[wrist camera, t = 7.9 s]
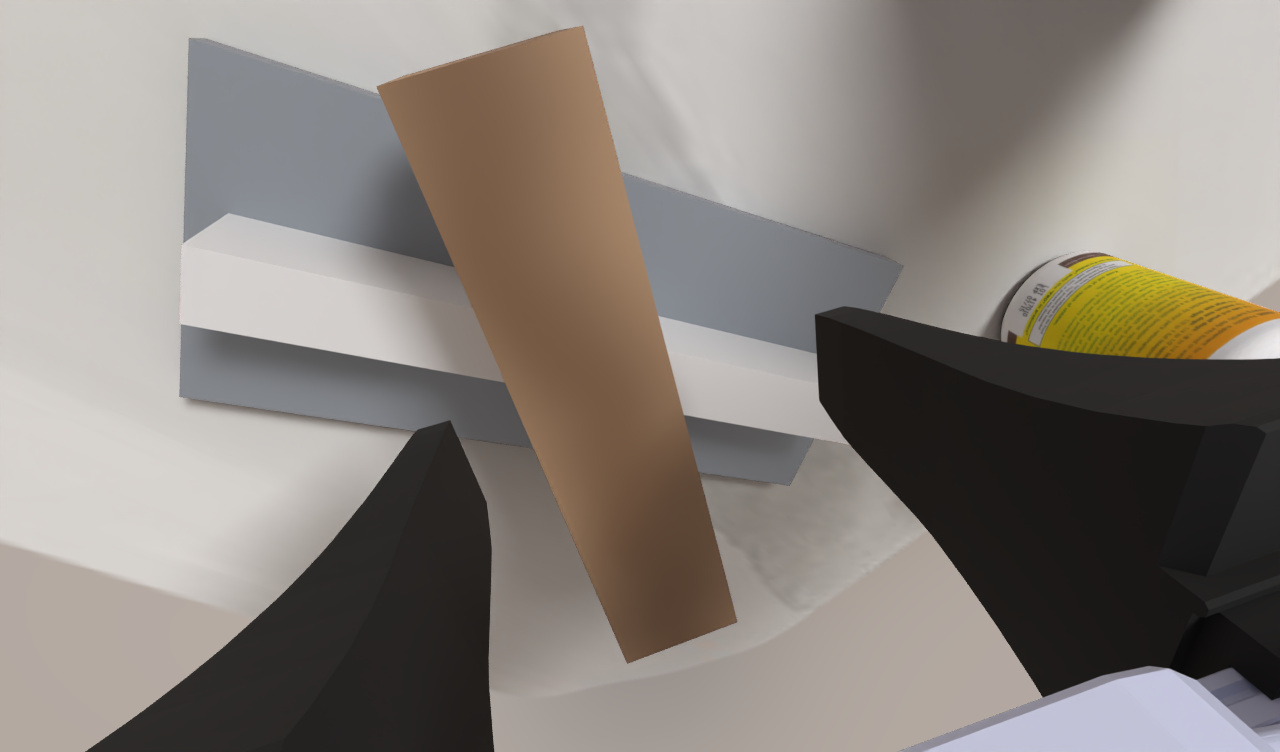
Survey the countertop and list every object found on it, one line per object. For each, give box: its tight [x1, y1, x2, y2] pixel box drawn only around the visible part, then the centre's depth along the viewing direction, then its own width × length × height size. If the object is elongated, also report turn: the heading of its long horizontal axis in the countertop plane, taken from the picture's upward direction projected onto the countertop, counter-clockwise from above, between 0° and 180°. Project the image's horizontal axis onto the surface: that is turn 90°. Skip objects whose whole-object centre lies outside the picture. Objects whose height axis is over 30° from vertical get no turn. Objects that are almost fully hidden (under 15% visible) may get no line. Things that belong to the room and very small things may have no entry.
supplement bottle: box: [1001, 251, 1280, 359], centre depth 22 cm, size 6×6×10 cm
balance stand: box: [179, 38, 903, 486], centre depth 19 cm, size 22×10×4 cm, turn 71°
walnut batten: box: [377, 26, 737, 664], centre depth 16 cm, size 4×16×4 cm, turn 14°
